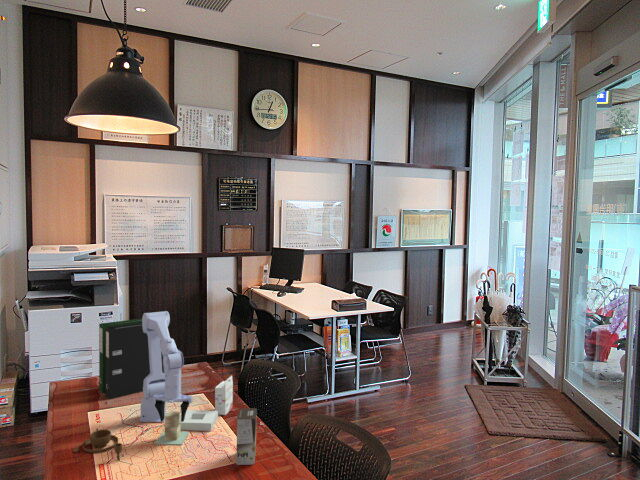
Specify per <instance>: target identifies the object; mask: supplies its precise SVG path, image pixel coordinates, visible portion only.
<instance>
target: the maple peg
mask: <svg viewBox="0 0 640 480" xmlns="http://www.w3.org/2000/svg"><path fill="white" fill-rule="evenodd" d="M166 413H167V414H166V415H165V420H164V431H165V440H177V439H178V437H179V436H180V431H181V430H180V421H181V411H177V410H176V411H174V410H173V411H171V410H169V411H167V412H166Z"/></svg>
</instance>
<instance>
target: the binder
mask: <svg viewBox="0 0 640 480" xmlns="http://www.w3.org/2000/svg"><path fill="white" fill-rule="evenodd" d="M98 331H99V335H98V336H99V338H98V339H99V340H98V343H99V344H98V345H99V346H98V351H99V352H98V353H99V354H98V357H99V359H98V360H99V362H98V363H99V364H98V365H99V367H98V372H99V375H98V378H99V379H98V382H99V383H98V385H99V387H98V390H99V392H100V393H101V394H103V395H104V394H105V397H106V399H108V401H109V400H112V399H118V398H122V397H125V396H131V395H135V394H139V393H143V381H144V379H145V378H146V377H147V376H148V375H149V374H150V362H149V346H148V336H147V334H146V333H144V332H143V327H142V318H136V319H128V320H120V321H119V320H117V321H110V322H103V323H101V322H100V323H99V329H98ZM160 342H161V340H160ZM161 361H162V373H164V366H163V355H162V352H161ZM164 374H165V373H164ZM161 380H163V379H161ZM155 381H160V380H155ZM151 382H154V381H151Z"/></svg>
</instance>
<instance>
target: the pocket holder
mask: <svg viewBox="0 0 640 480" xmlns="http://www.w3.org/2000/svg"><path fill="white" fill-rule="evenodd" d="M218 418H219V415H218V411H215V410H207V409H206V410H205V409H204V410H201V409H200V410H199V409H187V411H186V414H185V419H184V421H183V422H181V421H180V431H203V432H205V431H206V432H212V430H213V428H214V426H215V424H216V422H217V421H218Z"/></svg>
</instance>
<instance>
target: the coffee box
mask: <svg viewBox="0 0 640 480" xmlns="http://www.w3.org/2000/svg"><path fill="white" fill-rule="evenodd" d="M257 409H258V408H254V407H252V408H251V407H250V408H249V407H248V408H239V410H238V414H237V417H236V422H237V423H236V456H235V457H236V463H235V465H237V466H242V465H244V466H245V465H249V466H251V465H255V460H256V455H257V454H256V453H257V421H258V420H257V415H258V413H257V412H258V410H257Z"/></svg>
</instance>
